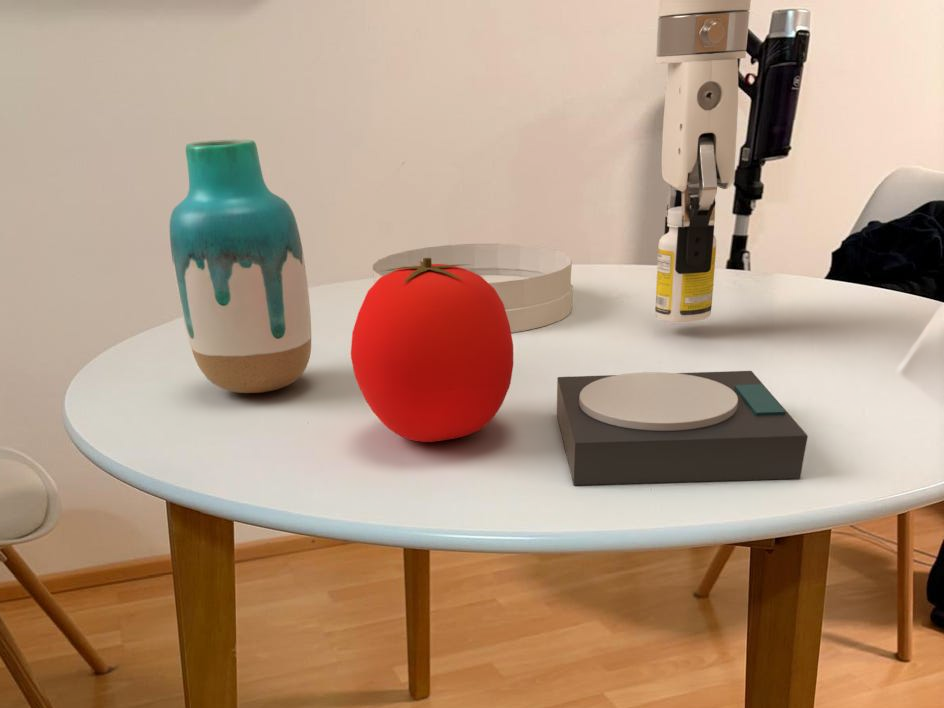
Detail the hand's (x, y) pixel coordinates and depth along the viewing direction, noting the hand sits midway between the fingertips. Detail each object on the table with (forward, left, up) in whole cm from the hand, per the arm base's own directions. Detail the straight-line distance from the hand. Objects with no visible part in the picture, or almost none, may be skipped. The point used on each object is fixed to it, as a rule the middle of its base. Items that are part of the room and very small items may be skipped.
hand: (686, 264), depth 87 cm
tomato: (+24, +27, -7) cm, 36 cm away
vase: (+40, +14, -7) cm, 42 cm away
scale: (+7, +30, -6) cm, 31 cm away
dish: (+21, -12, -7) cm, 25 cm away
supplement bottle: (0, 0, -5) cm, 5 cm away
